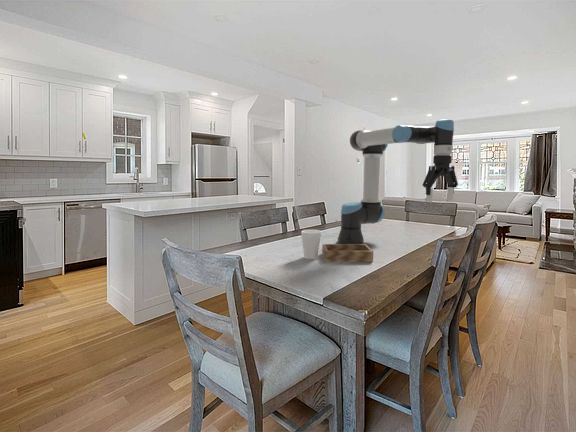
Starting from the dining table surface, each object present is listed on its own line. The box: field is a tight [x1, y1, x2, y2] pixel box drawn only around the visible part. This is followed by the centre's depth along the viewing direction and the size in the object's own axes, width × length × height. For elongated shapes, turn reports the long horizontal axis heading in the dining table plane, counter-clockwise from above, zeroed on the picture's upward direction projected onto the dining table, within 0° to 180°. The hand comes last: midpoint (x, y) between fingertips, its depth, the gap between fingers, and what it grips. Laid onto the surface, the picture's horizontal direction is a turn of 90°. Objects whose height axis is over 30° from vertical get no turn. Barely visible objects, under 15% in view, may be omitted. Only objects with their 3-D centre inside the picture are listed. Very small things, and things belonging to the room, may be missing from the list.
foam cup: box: [301, 229, 322, 260], centre depth 162 cm, size 10×9×13 cm
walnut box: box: [321, 243, 374, 263], centre depth 163 cm, size 22×15×5 cm
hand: (439, 201), depth 155 cm, fingers open, 13 cm apart
